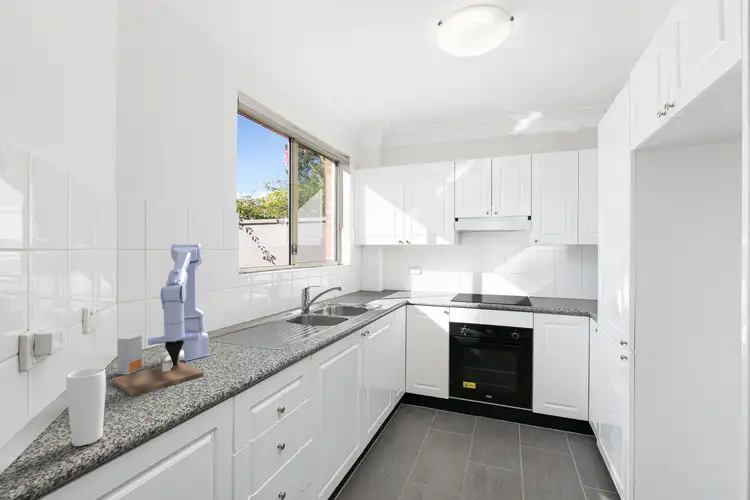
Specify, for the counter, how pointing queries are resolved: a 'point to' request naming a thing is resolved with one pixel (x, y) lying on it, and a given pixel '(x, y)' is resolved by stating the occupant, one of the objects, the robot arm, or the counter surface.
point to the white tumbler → (86, 404)
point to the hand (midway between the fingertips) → (175, 364)
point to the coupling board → (155, 378)
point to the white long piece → (169, 360)
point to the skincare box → (129, 354)
